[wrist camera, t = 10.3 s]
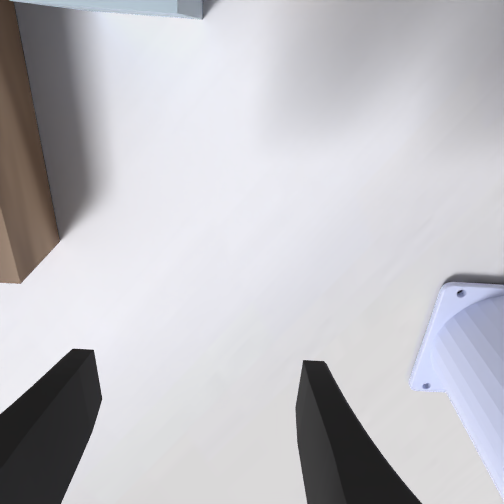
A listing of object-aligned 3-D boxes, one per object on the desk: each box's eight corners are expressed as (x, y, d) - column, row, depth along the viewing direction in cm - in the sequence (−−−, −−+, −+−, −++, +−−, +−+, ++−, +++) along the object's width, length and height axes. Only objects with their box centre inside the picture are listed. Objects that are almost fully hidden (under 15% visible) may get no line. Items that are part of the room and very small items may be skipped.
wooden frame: (353, -296, 12) (393, -430, 9) (288, 254, 21) (294, 298, 18) (-120, -337, 12) (-280, -494, 8) (21, 239, 21) (-27, 281, 17)
